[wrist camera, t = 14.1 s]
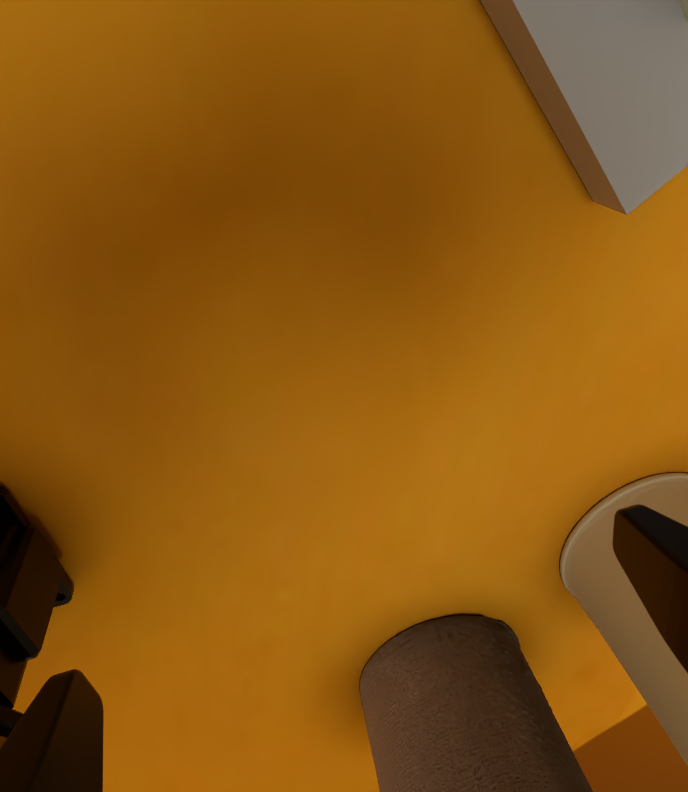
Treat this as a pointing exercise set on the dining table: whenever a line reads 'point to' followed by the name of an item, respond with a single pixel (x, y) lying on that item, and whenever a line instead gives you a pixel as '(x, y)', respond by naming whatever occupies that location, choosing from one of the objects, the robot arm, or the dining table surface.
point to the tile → (606, 87)
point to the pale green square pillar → (684, 8)
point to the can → (631, 599)
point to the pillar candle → (462, 714)
